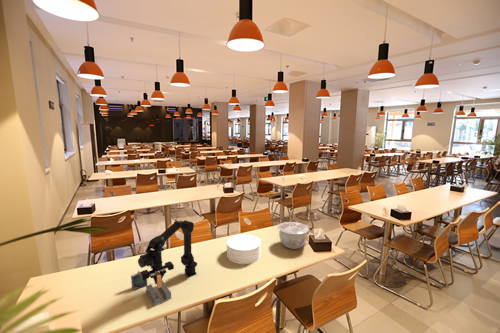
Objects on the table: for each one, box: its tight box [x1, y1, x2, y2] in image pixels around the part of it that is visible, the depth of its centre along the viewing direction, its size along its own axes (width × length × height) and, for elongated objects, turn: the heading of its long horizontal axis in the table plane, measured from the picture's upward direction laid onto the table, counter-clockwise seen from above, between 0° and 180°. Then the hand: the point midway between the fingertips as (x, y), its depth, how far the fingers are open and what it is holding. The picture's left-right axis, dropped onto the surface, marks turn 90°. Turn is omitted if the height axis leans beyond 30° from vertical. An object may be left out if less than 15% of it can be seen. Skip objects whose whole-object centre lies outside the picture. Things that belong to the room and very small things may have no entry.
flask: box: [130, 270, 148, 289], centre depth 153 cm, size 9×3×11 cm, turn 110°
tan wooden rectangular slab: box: [154, 271, 163, 288], centre depth 144 cm, size 2×6×8 cm, turn 40°
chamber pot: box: [277, 221, 311, 250], centre depth 209 cm, size 28×28×21 cm
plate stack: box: [226, 233, 262, 265], centre depth 193 cm, size 28×28×12 cm
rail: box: [145, 279, 172, 307], centre depth 146 cm, size 10×16×4 cm, turn 39°
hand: (158, 282), depth 145 cm, fingers closed on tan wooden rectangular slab, 2 cm apart
